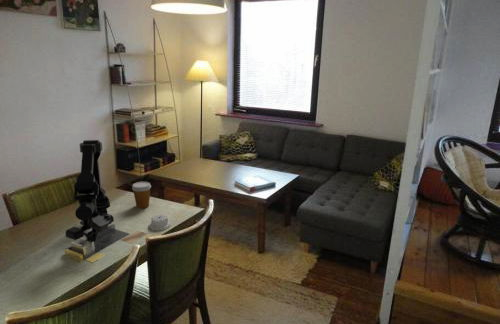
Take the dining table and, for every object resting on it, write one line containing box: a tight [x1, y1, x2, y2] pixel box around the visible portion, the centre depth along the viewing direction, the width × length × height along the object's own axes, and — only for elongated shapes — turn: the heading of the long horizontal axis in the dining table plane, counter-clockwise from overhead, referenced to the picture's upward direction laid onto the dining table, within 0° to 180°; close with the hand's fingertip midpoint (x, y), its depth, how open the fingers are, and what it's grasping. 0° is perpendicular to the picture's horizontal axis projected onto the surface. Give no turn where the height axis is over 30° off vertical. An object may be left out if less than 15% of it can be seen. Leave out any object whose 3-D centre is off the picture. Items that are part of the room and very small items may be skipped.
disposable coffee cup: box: [131, 181, 152, 209], centre depth 183 cm, size 10×10×12 cm
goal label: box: [85, 252, 106, 264], centre depth 137 cm, size 4×6×1 cm, turn 153°
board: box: [120, 230, 148, 244], centre depth 153 cm, size 6×10×1 cm, turn 153°
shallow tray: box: [63, 223, 130, 263], centre depth 147 cm, size 10×25×2 cm, turn 153°
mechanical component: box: [148, 214, 172, 231], centre depth 164 cm, size 10×4×10 cm
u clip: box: [70, 236, 95, 257], centre depth 140 cm, size 7×5×4 cm
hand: (92, 244), depth 143 cm, fingers closed
